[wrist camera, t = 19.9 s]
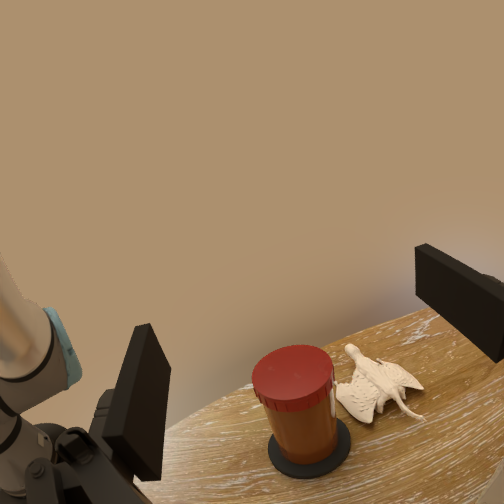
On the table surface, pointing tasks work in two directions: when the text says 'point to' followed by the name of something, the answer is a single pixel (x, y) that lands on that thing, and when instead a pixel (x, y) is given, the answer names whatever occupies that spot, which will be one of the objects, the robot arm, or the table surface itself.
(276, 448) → the coaster
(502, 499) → the white packaging box
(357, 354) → the white dragon
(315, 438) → the jar
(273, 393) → the lid
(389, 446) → the table surface
